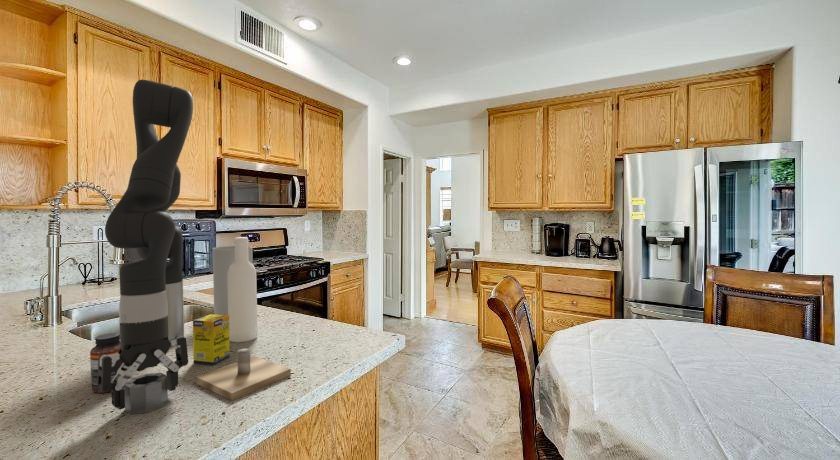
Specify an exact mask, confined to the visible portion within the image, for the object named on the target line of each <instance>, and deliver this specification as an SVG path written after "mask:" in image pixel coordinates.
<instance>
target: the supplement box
mask: <svg viewBox="0 0 840 460" xmlns="http://www.w3.org/2000/svg"><path fill="white" fill-rule="evenodd" d="M192 340H193V341H192V345H193V346H192V347H193V348H192V351H193V356H192V357H193V358H192V359H193V364H199V365H209V366H215V365H217V363H220V362H221V361H223V360H226V359H228V358H230V354H231V353H230V349H231V348H230V345H231V344H230V342H231V341H230V339H229V315H216V314H214V313H212V314H210V313H209V314H207V315H204V316H203V317H202V316H201V317H199V318H197V319H196V318H195V319H193V320H192Z"/></svg>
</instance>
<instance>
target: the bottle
mask: <svg viewBox="0 0 840 460" xmlns="http://www.w3.org/2000/svg"><path fill="white" fill-rule="evenodd" d="M249 243H250V242H249V238H248V236H238V237H234V242H233V244H234V246H235V262H234V263H233V264H232V265H231V266H230V267H229V270H228V273H227V280H228V315H229V339H230V342H231V343H245V342H251V341H253V340H255V339H257V338H258V331H259V330H258V329H259V328H258V297H257V296H258V294H257V292H258V291H257V289H258V287H257V270H256V268H255V265H254V263H253V264H252V263H250V262H249V260H248V246H249Z"/></svg>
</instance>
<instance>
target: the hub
mask: <svg viewBox="0 0 840 460" xmlns="http://www.w3.org/2000/svg"><path fill="white" fill-rule="evenodd" d="M123 387H124V388H123V389H124V392H125V408H124V411H125V412H127V413H128V414H130V415H138V414H140V415H141V414H147V413H150V412H152V411H154V410H157V409H160V408H162V407H164V406H165V404H166V403H167V402H168V401H169V397H168V396H169V394H168V393H169V392H168V391H169V390H168V387H167V375H166V374H164V373H162V372H153V373H152V372H151V373H145V374H142V375H139V376H135V377H133V378H132V377H131V378H129V379H128V382H126V383H125V385H124V386H123Z"/></svg>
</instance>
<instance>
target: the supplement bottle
mask: <svg viewBox="0 0 840 460" xmlns="http://www.w3.org/2000/svg"><path fill="white" fill-rule="evenodd" d="M94 339H95V345H94V347H92V348H91V350H90V351H89V355H90V356H89V357H90V358H89V361H90V377H91V378H90V379H91V382H90V383H91V391H92V392H93V393H95V394H96V393H97V394H103V393H104V394H105V393H111V390H108V391H103V390H102V389H101V388H99V387H97V377H98V358H99V356H100V355H102V354H105V355H111V354H116V353H118V352H119V350H120V332H119V333H118V332H109V333H103V334H100V335H97V336H96V337H95V338H94ZM122 364H123V362H122V361H121V360H119V359H118V360H117V361H116V363H115V365H114V366H113V367H112V368H111V381H112V380H113V378H114V377H115V376H116V374H117V371H118V369H119V368H120V367H121V365H122ZM128 381H129V379H128V380H127V382H128Z"/></svg>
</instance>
